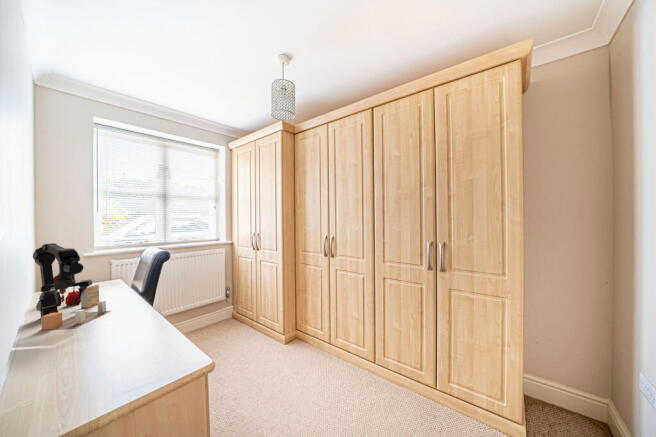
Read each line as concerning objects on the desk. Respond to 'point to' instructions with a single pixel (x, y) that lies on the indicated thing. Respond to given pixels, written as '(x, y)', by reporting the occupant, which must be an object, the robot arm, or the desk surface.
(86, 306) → the supplement box
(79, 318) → the white post
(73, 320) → the walnut board
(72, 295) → the red clay folk toy
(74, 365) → the desk surface
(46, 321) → the peach wooden cube
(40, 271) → the robot arm
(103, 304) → the steel post
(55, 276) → the lantern
